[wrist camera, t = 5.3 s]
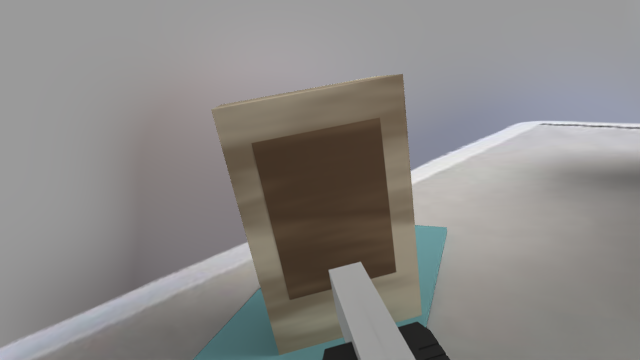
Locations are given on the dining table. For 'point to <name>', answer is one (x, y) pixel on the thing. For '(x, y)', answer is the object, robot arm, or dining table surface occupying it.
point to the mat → (262, 353)
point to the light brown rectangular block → (324, 199)
